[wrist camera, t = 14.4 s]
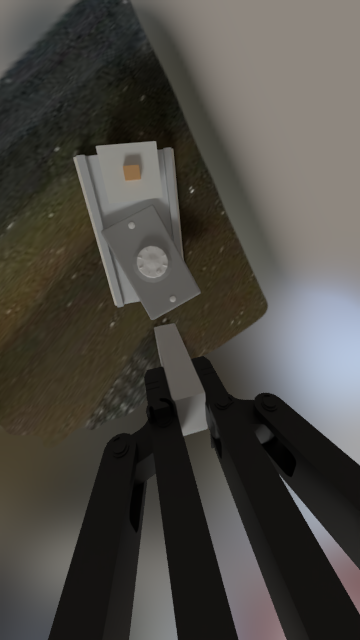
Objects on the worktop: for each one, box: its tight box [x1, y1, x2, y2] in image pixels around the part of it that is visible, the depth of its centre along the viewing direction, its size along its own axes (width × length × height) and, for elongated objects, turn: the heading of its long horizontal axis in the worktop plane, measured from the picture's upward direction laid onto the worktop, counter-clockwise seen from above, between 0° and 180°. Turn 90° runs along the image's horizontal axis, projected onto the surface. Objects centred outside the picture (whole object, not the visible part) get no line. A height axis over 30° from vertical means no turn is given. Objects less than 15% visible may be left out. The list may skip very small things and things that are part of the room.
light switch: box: [101, 204, 201, 320], centre depth 33 cm, size 8×6×14 cm
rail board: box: [73, 141, 184, 307], centre depth 30 cm, size 13×21×10 cm, turn 6°
